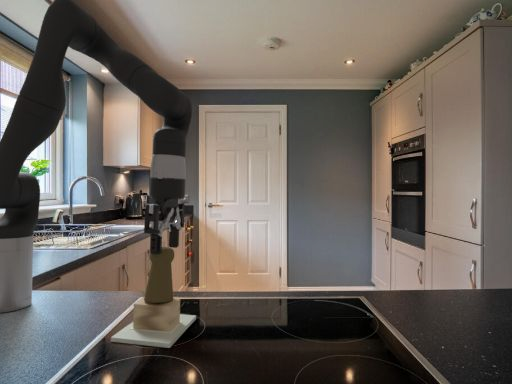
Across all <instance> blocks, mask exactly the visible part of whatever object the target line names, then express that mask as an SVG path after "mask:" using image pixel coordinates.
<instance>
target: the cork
mask: <svg viewBox="0 0 512 384" xmlns="http://www.w3.org/2000/svg"><path fill="white" fill-rule="evenodd" d="M148 257H149V261H150V262H151V263H150V264H151V265H150V270H149V274H148V278H147V283H146V288H145V291H144V292H145V293H144V296H143V298H144V301H146V302H153V303H161V302H169V301H172V300H173V298H174V289H173V272H172V270H173V269H172V263H173V261H174V259H175V250H174V249H173V248H172V247H169V246H168V247H167V246H162V251H161V254H151V253H150V252H149V256H148Z"/></svg>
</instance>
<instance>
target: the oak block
mask: <svg viewBox="0 0 512 384" xmlns="http://www.w3.org/2000/svg"><path fill="white" fill-rule="evenodd" d="M180 314H181V298H174V297H173V300H172V301H169V302H161V303H153V302H146V301H144V297H142V298H141V299H139V300H137V301H136V302H134V303H133V314H132V315H133V319H132V322H133V329H145V330H156V331H168V332H171V330H172V329H173V328H174V327H175V326H176V325H177V324H178V323H179V322H180Z"/></svg>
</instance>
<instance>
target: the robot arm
mask: <svg viewBox="0 0 512 384" xmlns="http://www.w3.org/2000/svg"><path fill="white" fill-rule="evenodd" d="M37 38H38V39H37V41H36V46H35V49H34V53H33V57H32V59H31V63H30V65H29V68H28V70H27V71H28V72H27V74H26V76H25V79H24V82H23V83H22V87H21V88H20V90H19V92H18V93H19V94H18V95H17V98H16V101H15V102H14V106H13V109H12V112H11V114H10V118H9V120H8V123H7V124H6V127H5V129H4V132H3V133H2V136H1V139H0V209H1V210H4V209H5V210H4V214H3V216H1V217H0V314H1V313H8V312H13V311H18V310H22V309H24V308H27V307H29V306H30V305H31V304H32V299H33V298H32V297H33V273H34V271H33V269H34V237H35V236H34V235H35V234H34V233H35V229H36V226H37V224H38V222H39V213H40V212H39V210H40V202H41V186H40V182H39V180H38V178H37V177H36V176H35V175H34V174H32V173H30V172H25V171H21V170H22V168H23V166H24V164H25V162H26V160H27V158H29V156H30V155H31V154H32V153H33V152H34V150H36V149H37V148H38V147H39V146H40V145H42V144H43V143H44V142H45V141H47V139H49V138H50V137H51V136H52V135H53V133H54V132H55V131H56V130H57V128H58V126H59V124H60V121H61V120H62V116H63V113H64V111H65V109H66V104H67V95H66V88H65V83H64V82H65V81H64V75H63V74H64V73H63V65H64V60H65V57H66V54H67V51H68V48H70V49H72V50H73V51H76V52H78V53H81V54H83V55H84V56H87V57H89V58H90V59H93V60H95V61H97V62H98V63H99V64H101V65H102V66H103V67H104V68H105V69H107V71H109V73H110V74H111V75H112V76H113V78H115V79H116V80H117V81H118V82H119V83H120V84H121V85H122V86H124V88H126V89H128V90H129V91H130V92H131V93H133V94H134V95H136V96H137V97H138V98H139V99H140V100H141V101H142V103H144V104H145V105H146V106H147V107H148V108H149V109H150V110H151V111H153V112H154V113H156V114H158V115H159V116H160V117H163V121H162V126H161V128H158V129H156V130H155V131H154V134H153V139H152V158H151V162H150V176H149V197H150V198H151V199H155V200H154V203H146V204H145V211H144V213H145V215H144V227H143V233H144V234H148V235H149V236H150V243H149V244H150V245H149V247H150V248H149V254H150V253H151V254H161V251H162V247H163V245H162V243H163V233H164V229H165V228H167V227H168V229H169V231H168V247H169V248H172V249H173V248H176V249H177V248H178V247H179V246H180V245H179V244H180V243H179V242H180V232H181V230H182V229H183V228H184V227H185V210H186V209H185V203H184V202H179V200H184V199H185V197H186V175H187V174H186V173H187V165H186V163H187V162H186V147H187V143H186V141H187V140H186V139H187V136H188V133H189V129H190V125H191V121H192V117H193V105H192V101H191V99H190V97H189V96H188V94H186V93H185V92H184V91H182V90H181V89H179V88H178V86H176V85H175V84H173V83H172V82H170V81H168V80H167V79H166V78H165V77H163V76H161V75H160V74H159V73H157V71H156V70H154V68H152V67H151V66H150V65H148V63H146V62H144V61H143V60H142V59H141V58H139V57H138V56H136V55H135V54H133V53H132V52H131V51H129V50H127V49H126V48H123V47H122V46H121V45H119V44H118V43H117V42H116V41H115V40H114V39H112V37H111V36H110V35H109V34H108V33H107V31H105V30H104V28H103V27H102V26H101V25H100V24H99V23H98V21H97V20H96V19H95V18H94V17H93V16H92V15H91V14H89V13H88V12H87V11H86V10H84V8H82V7H81V6H79V5H78V4H77V3H75V2H74V1H73V0H53V1H52V2H51V3H50V5H49V6H48V8H47V10H45V13H44V16H43V20H42V23H41V26H40V30H39V34H38V37H37Z"/></svg>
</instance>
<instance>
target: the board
mask: <svg viewBox="0 0 512 384" xmlns="http://www.w3.org/2000/svg"><path fill="white" fill-rule="evenodd" d="M196 320H197V315H194V314H192V315H191V314H184V313H183V314H182V313H180V322H179V323H178V324H177V325H176V326H175V327H174V328H173V329H172V330H171V332H168V331H156V330H145V329H133V321H132V322H130V323H129V324H127V325H126V326H125V327H123V328H122V329H121V330H119V331H118V332H115V334H114V335H112V336H111V337H110V342H111V343H122V344H128V345H129V344H131V345H138V346H148V347H158V348H166V349H170V348H171V347H172V346H173V345H174V344H175V343H176V342H177V340H178V339H179V338H180V337H182V336H183V334H184V333H185V332H186V330H187V329H188V328H189V327H191V325H192V324H193V323H194V322H195V321H196Z"/></svg>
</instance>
